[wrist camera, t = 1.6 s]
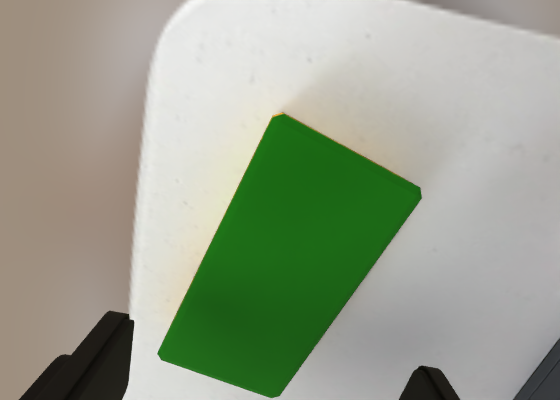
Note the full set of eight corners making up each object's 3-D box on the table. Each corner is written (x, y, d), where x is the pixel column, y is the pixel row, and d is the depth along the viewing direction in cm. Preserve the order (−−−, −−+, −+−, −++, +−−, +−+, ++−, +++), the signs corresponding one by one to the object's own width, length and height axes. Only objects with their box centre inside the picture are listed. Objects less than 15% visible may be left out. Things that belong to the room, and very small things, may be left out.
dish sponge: (170, 324, 16) (154, 360, 14) (276, 108, 12) (275, 109, 10) (276, 363, 18) (276, 402, 15) (402, 177, 14) (428, 192, 11)
